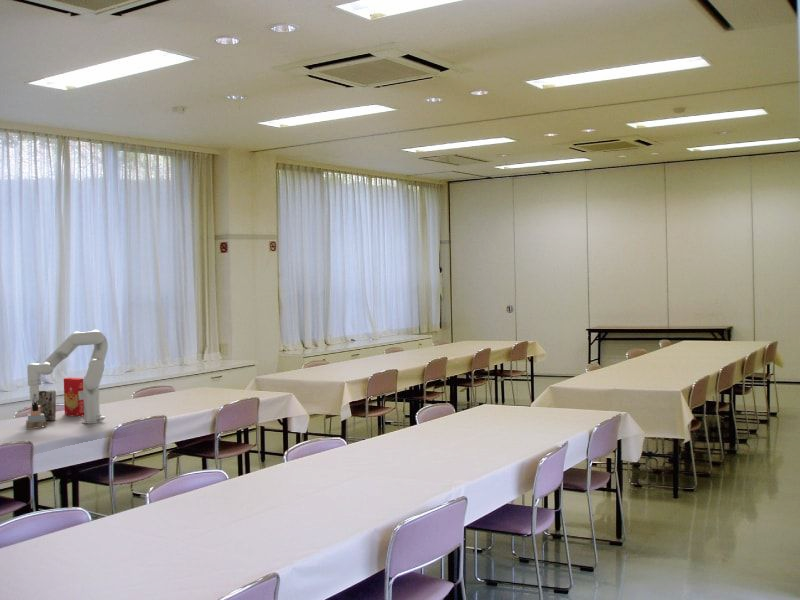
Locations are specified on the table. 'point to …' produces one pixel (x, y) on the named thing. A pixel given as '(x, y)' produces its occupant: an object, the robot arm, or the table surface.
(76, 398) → the food packaging
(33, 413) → the terracotta cube
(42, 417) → the tower top slab
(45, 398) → the stone block
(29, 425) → the tower base slab
